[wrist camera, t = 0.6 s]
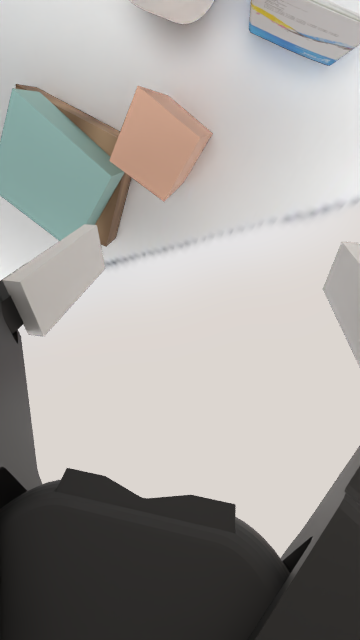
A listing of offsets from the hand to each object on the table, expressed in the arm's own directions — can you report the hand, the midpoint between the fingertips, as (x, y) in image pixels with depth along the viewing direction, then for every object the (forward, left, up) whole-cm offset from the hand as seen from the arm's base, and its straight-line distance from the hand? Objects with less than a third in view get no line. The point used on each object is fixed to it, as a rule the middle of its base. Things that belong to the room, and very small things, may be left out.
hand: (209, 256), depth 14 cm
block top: (-17, -10, -19) cm, 27 cm away
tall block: (-8, 0, -22) cm, 23 cm away
